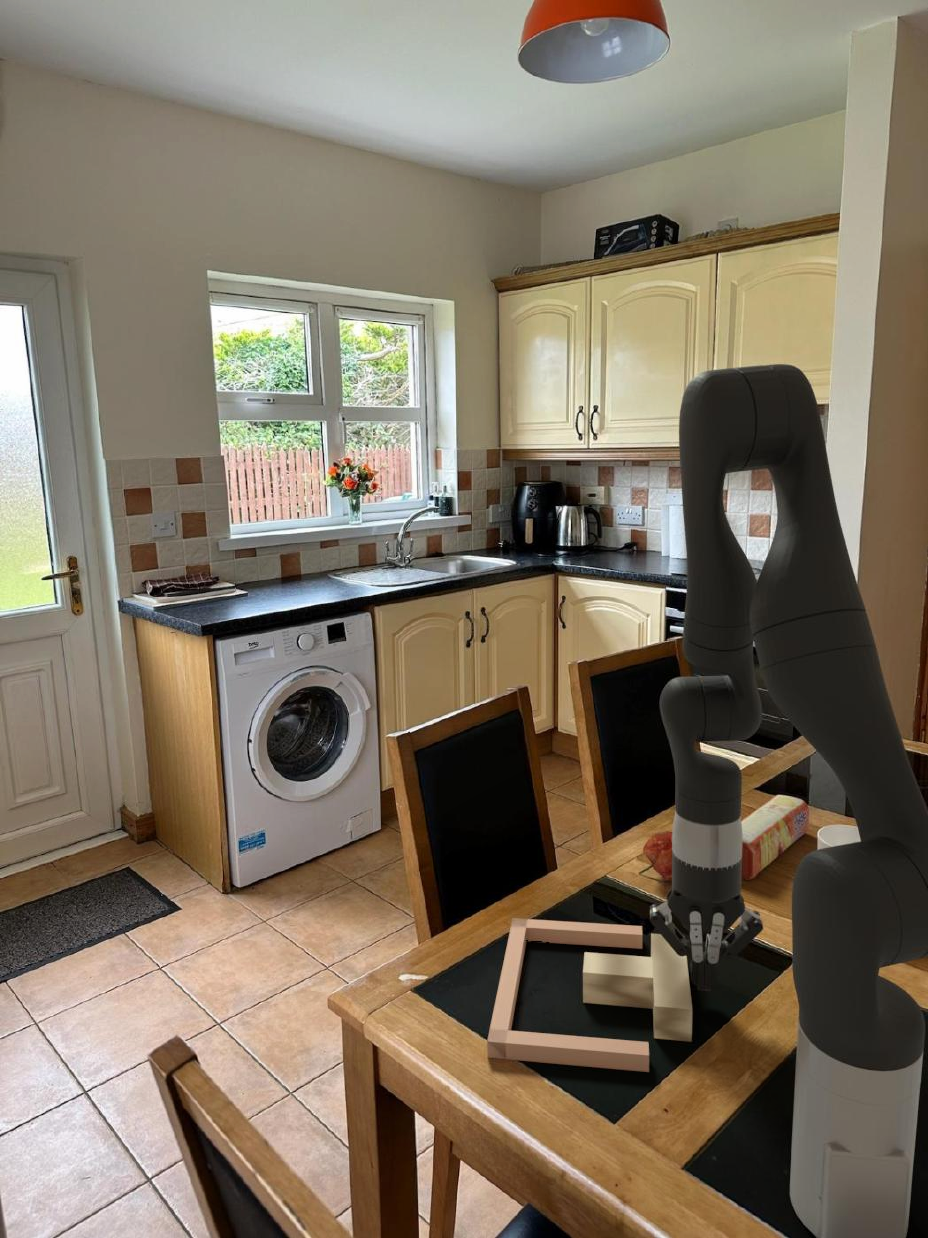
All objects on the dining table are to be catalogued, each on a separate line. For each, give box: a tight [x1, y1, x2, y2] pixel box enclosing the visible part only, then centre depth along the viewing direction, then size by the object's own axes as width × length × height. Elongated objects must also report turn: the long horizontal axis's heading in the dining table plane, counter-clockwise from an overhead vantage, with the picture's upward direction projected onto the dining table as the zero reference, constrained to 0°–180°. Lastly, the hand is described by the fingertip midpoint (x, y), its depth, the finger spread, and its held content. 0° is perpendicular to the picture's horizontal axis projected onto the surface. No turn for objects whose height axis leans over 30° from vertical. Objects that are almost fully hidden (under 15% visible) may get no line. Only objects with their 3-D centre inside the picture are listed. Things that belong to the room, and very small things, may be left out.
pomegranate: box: [638, 830, 673, 883], centre depth 127 cm, size 7×7×10 cm
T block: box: [582, 933, 693, 1043], centre depth 101 cm, size 12×14×4 cm
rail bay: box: [486, 917, 650, 1073], centre depth 102 cm, size 24×17×2 cm
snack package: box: [741, 794, 810, 881], centre depth 134 cm, size 21×7×7 cm, turn 136°
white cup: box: [816, 824, 861, 850], centre depth 118 cm, size 8×8×10 cm
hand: (703, 986), depth 99 cm, fingers closed
